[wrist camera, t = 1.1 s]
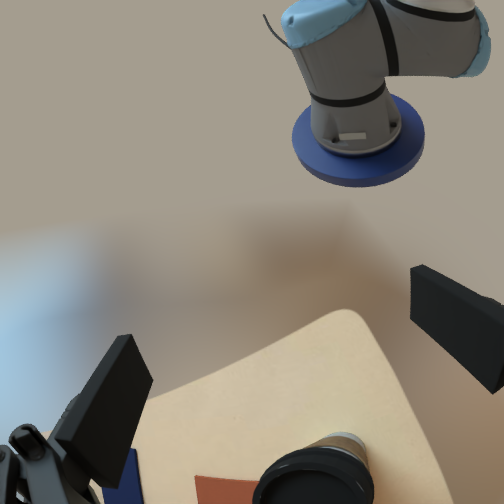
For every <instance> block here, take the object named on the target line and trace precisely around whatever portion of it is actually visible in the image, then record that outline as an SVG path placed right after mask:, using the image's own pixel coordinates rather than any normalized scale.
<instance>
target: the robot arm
mask: <svg viewBox="0 0 504 504" xmlns="http://www.w3.org/2000/svg"><path fill="white" fill-rule="evenodd" d="M263 17H264V19H265V21H266V23H267V26H268V27H269V29H270V31H271V32H272V33H273V34H274V35H275V37H276V38H278V39H279V40H280V41H281V42H282V43H283V44H285V45H286V46H287V47H288V48H290V49H291V50H292V52H293V54H294V57H295V59H296V61H297V64H298V66H299V68H300V70H301V73H302V75H303V78H304V80H305V83H306V85H307V88H308V90H309V92H310V95H311V130H312V133H313V135H314V138H315V140H316V142H317V144H318V145H319V146H320V147H321V148H322V149H324V150H325V151H327V152H328V153H331V154H333V155H336V156H339V157H343V158H352V159H359V158H367V157H372V156H376V155H379V154H381V153H383V152H385V151H387V150H388V149H390V148H391V147H392V146H393V145H394V144H395V143H396V142H397V141H398V139H399V138H400V135H401V132H402V123H401V115H400V113H399V110H398V108H397V106H396V104H395V102H394V100H393V98H392V97H391V95H390V93H389V91H388V89H387V87H386V83H385V78H384V77H386V76H444V77H450V78H458V77H474V76H477V75H479V74H480V73H482V72H483V71H484V69H485V68H486V66H487V64H488V61H489V58H490V52H491V39H490V37H488V32H489V28H488V24H487V22H486V19H485V17H484V15H483V14H482V12H481V11H480V10H479V9H478V7H477V6H475V2H474V0H300V1H298V2H296V3H295V4H293V5H291V6H290V7H289V8H288V9H287V10H286V11H285V12H284V13H283V15H282V18H281V25H282V28H283V31H284V33H285V36H286V38H287V43H286V42H285V41H283V40H282V39H281V38H280V37H279V36H277V34H276V33H275V32H274V31H273V30H272V28H271V26H270V25H269V23H268V21H267V18H266V16H265V15H264V14H263ZM410 270H411V271H410V275H411V308H410V310H411V311H410V319H411V320H412V321H413V322H414V323H416V324H417V325H418V326H419V327H420V328H421V329H422V330H424V331H425V332H426V333H427V334H428V335H429V336H430V337H431V338H433V339H434V340H435V341H436V342H437V343H438V344H439V345H440V346H442V347H443V348H444V349H445V350H446V351H447V352H448V353H449V354H450V355H451V356H453V357H454V358H455V359H456V360H457V361H458V362H459V363H460V364H461V365H462V366H463V367H464V368H465V369H467V370H468V371H469V372H470V373H471V374H472V375H473V376H474V377H475V378H476V379H477V380H478V381H479V382H480V383H481V384H482V385H483V386H484V387H485V388H486V389H487V390H488V391H489V392H490V393H491V394H494V393H496V392H497V391H498V390H500V389H501V388H502V387H503V386H504V305H501V303H499V302H497V301H495V300H494V299H492V298H488V297H484V296H481V295H479V294H477V293H476V292H474V291H472V290H470V289H468V288H466V287H465V286H463V285H461V284H459V283H457V282H455V281H454V280H452V279H450V278H448V277H446V276H444V275H442V274H440V273H439V272H437V271H435V270H433V269H431V268H429V267H427V266H425V265H423V264H422V265H419V266H416V267H413V268H411V269H410ZM152 383H153V379H152V377H151V375H150V373H149V371H148V369H147V366H146V364H145V362H144V360H143V358H142V356H141V354H140V352H139V350H138V347H137V345H136V343H135V341H134V338H133V336H132V334H127V335H121V336H117V338H116V339H115V341H114V342H113V344H112V345H111V347H110V348H109V350H108V351H107V353H106V354H105V356H104V357H103V359H102V360H101V362H100V363H99V365H98V367H97V368H96V370H95V371H94V373H93V374H92V376H91V377H90V379H89V381H88V382H87V384H86V385H85V387H84V388H83V390H82V392H81V393H80V394H78V395H77V396H76V397H75V398H74V399H73V400H71V401H70V403H69V404H68V406H67V408H66V409H65V412H63V414H62V416H61V419H59V421H58V422H57V424H56V426H55V428H54V429H53V431H52V433H51V434H50V436H49V438H48V439H47V441H46V439H45V438H44V437H43V436H42V435H41V433H40V432H39V431H38V430H37V428H36V427H35V426H34V425H32V424H23V425H21V426H19V427H17V428H16V429H15V430H14V431H13V432H12V433H11V435H10V437H9V443H10V444H11V446H12V447H13V448H14V449H15V450H16V451H17V452H18V453H19V454H15V453H14V452H13V451H12V450H11V449H10V448H9V447H8V446H7V445H0V504H100V502H99V500H98V498H97V496H96V494H95V492H94V490H93V488H92V487H91V486H90V485H89V482H90V480H91V479H92V480H93V481H95V482H96V483H97V484H98V485H99V486H100V487H104V488H110V489H117V490H118V487H119V483H120V480H121V476H122V473H123V470H124V467H125V463H126V460H127V457H128V454H129V451H130V447H131V444H132V441H133V438H134V435H135V432H136V429H137V426H138V423H139V420H140V417H141V414H142V411H143V408H144V405H145V403H146V400H147V397H148V394H149V391H150V388H151V386H152ZM16 492H18V493H19V494H21V495H22V496H23V497H24V502H22V501H20V500H19V499H18V498H17V497H16Z"/></svg>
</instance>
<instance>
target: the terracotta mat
mask: <svg viewBox="0 0 504 504" xmlns="http://www.w3.org/2000/svg"><path fill="white" fill-rule="evenodd" d="M194 477H195V484H196V491H197V498H198V504H252V498H253V492H254V490H255V488H256V486H257V484H258V483H259V481H244V480H231V479H220V478H212V477H204V476H197V475H196V476H194Z"/></svg>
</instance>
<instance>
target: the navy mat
mask: <svg viewBox="0 0 504 504" xmlns="http://www.w3.org/2000/svg"><path fill="white" fill-rule="evenodd" d="M102 493H103V498H104V503H105V504H144V502H143V497H142V491H141V484H140V478H139V471H138V463H137V454H136V449H133V448H130V451H129V454H128V457H127V460H126V463H125V467H124V470H123V473H122V476H121V480H120V483H119V487H118V490H117V489H110V488H104V487H102Z"/></svg>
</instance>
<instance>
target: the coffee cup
mask: <svg viewBox="0 0 504 504" xmlns="http://www.w3.org/2000/svg"><path fill="white" fill-rule="evenodd" d="M373 500H374V484H373V480H372V477H371V475H370V472H369V466H368V461H367V457H366V450H365V446H364V444H363V442H362V441H361V440H360V439H359V438H358V437H357V436H355V435H353V434H351V433H346V432H337V433H333V434H330V435H328V436H326V437H324V438H322V439H321V440H319V441H317V442H315V443H313V444H311V445H309V446H307V447H305V448H303V449H300V450H296V451H294V452H291V453H289V454H286V455H285V456H283V457H281V458H280V459H278V460H277V461H276V462H275V463H273V464H272V465H271V466H270V467H269V468H268V469H267V470H266V471H265V472H264V474H263V475H262V477H261V478H260V481H259V483H258V484H257V486H256V488H255V490H254V492H253V498H252V504H373Z"/></svg>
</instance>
